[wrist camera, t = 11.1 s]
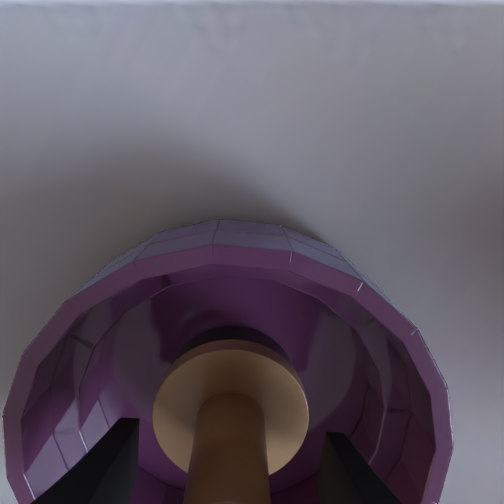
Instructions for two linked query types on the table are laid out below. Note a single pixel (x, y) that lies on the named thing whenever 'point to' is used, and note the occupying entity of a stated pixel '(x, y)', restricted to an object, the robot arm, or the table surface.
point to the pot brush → (230, 415)
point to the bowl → (226, 315)
